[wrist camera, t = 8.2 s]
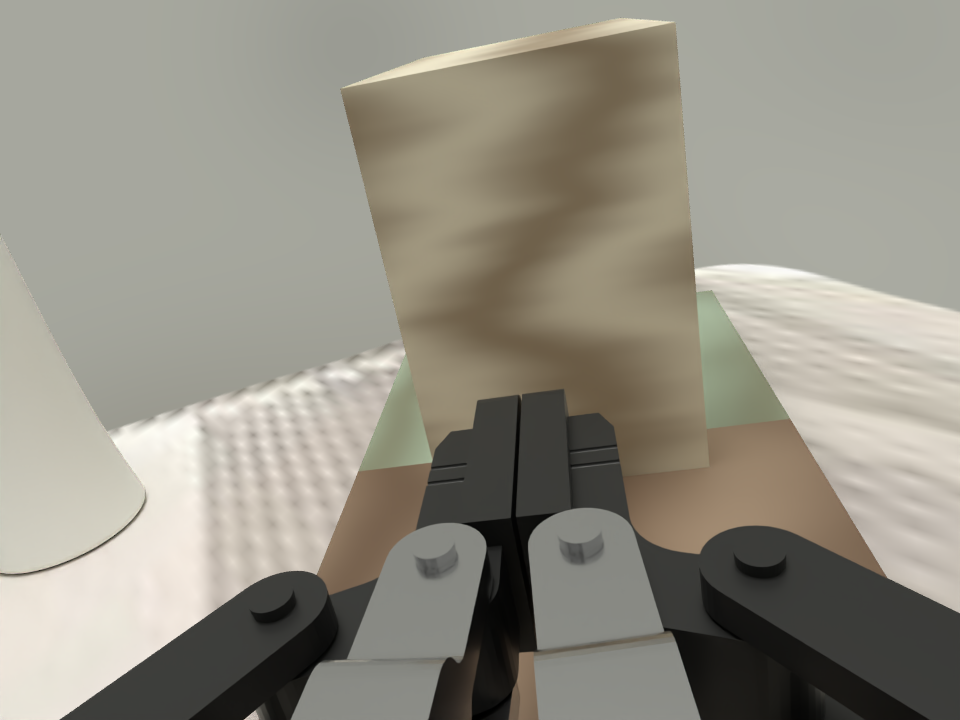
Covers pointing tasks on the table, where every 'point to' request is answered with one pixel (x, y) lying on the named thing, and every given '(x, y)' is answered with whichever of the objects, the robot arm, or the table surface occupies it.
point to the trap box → (624, 479)
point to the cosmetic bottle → (51, 446)
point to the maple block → (542, 231)
